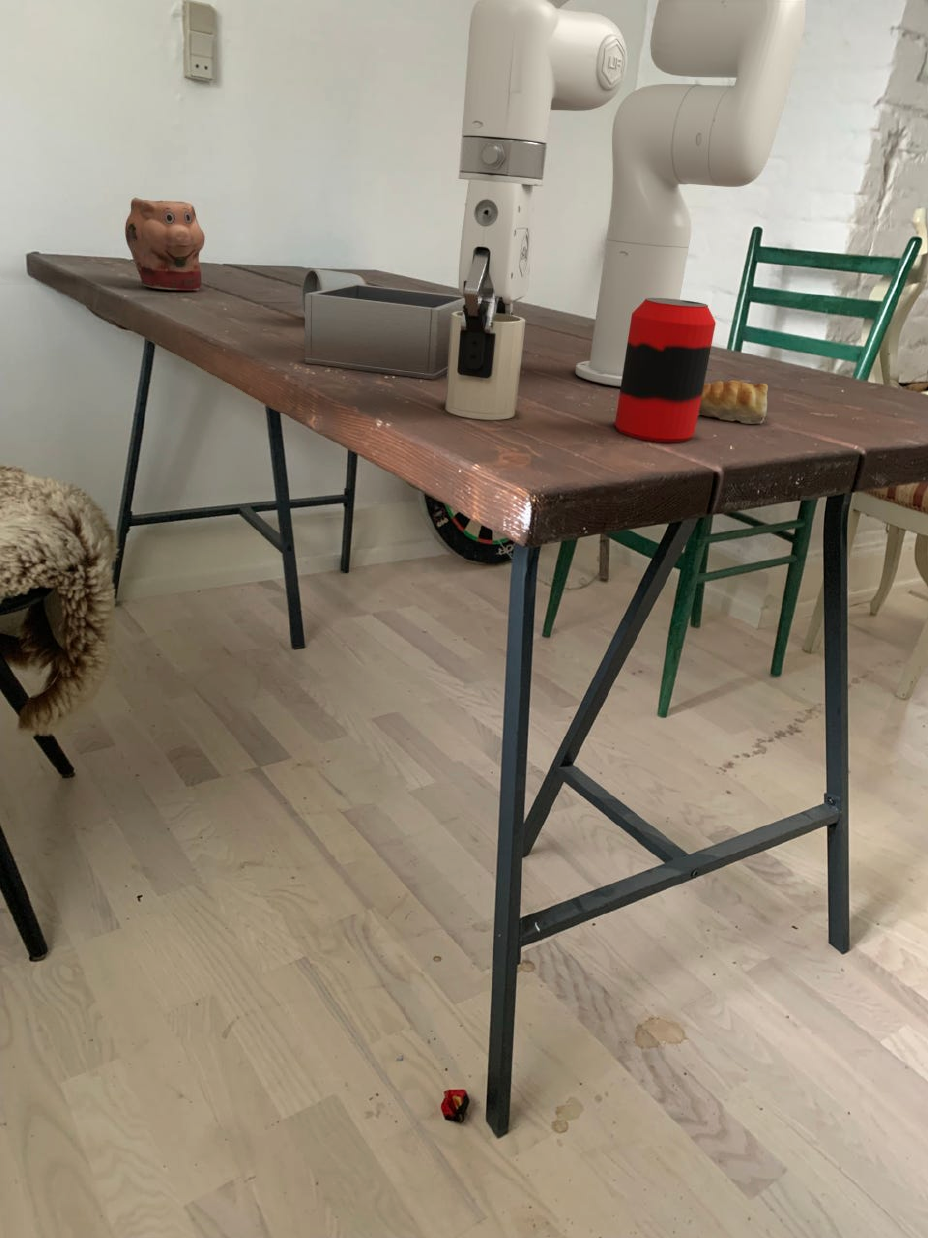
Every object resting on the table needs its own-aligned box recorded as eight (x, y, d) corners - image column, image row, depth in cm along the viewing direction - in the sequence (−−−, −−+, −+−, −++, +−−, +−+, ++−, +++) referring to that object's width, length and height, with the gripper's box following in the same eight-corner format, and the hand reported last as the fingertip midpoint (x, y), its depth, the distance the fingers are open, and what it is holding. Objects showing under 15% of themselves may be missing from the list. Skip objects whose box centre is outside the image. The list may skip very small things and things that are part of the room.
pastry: (675, 414, 95) (682, 378, 94) (675, 403, 101) (681, 368, 100) (766, 426, 94) (775, 389, 92) (761, 414, 100) (769, 379, 98)
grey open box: (467, 359, 116) (472, 297, 112) (434, 380, 102) (438, 309, 98) (352, 345, 118) (353, 283, 115) (304, 362, 105) (305, 293, 101)
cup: (520, 409, 92) (530, 316, 88) (506, 423, 86) (517, 324, 82) (455, 400, 93) (462, 308, 89) (436, 413, 87) (443, 315, 83)
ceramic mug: (372, 328, 132) (374, 272, 129) (320, 329, 128) (321, 270, 125) (341, 318, 140) (341, 265, 137) (291, 318, 136) (290, 263, 133)
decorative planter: (109, 280, 159) (102, 192, 153) (175, 280, 166) (171, 197, 160) (157, 295, 146) (151, 200, 140) (226, 295, 153) (224, 205, 147)
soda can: (710, 440, 86) (736, 308, 81) (652, 445, 82) (676, 307, 77) (654, 421, 92) (676, 296, 87) (598, 425, 88) (617, 295, 83)
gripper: (525, 163, 72) (502, 390, 79) (558, 171, 87) (537, 361, 95) (434, 155, 73) (420, 379, 81) (483, 165, 88) (467, 352, 96)
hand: (483, 368), depth 88 cm, fingers closed on cup, 7 cm apart
